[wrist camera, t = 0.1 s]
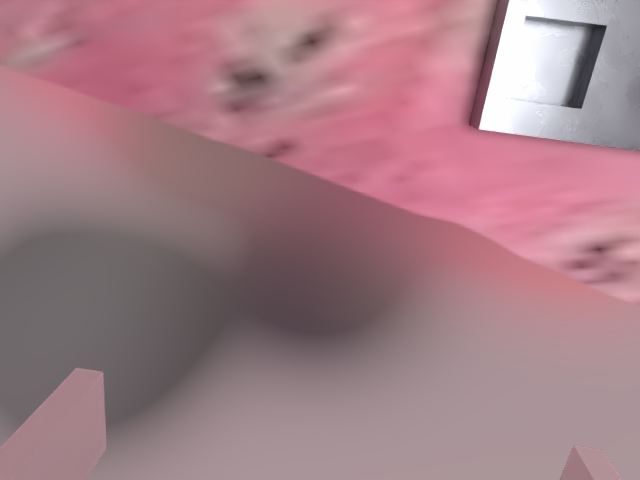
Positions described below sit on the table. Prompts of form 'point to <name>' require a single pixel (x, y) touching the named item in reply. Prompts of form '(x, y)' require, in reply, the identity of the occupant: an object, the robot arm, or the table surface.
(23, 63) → the table surface
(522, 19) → the grey and white block
